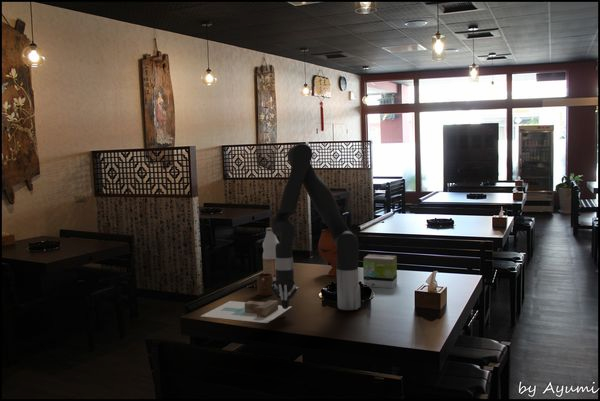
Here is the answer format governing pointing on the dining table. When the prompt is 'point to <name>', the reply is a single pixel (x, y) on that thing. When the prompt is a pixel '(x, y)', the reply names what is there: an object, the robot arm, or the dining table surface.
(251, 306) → the t block
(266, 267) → the fruit juice
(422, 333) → the dining table surface
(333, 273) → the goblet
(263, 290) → the mug
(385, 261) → the tea box
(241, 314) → the mat
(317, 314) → the dining table surface
